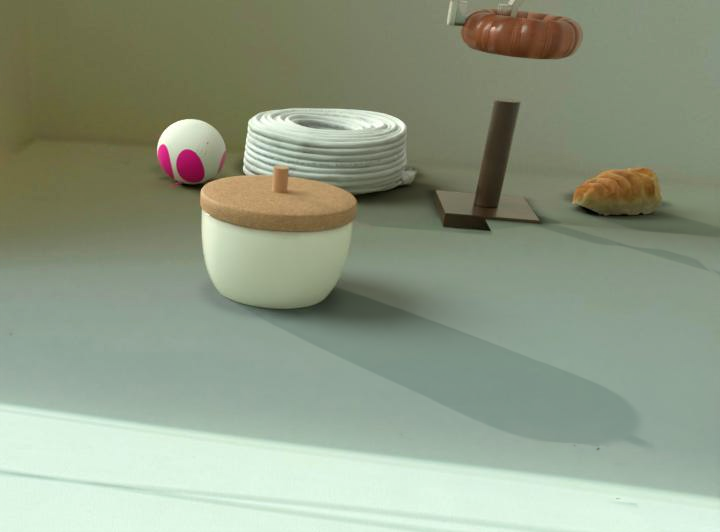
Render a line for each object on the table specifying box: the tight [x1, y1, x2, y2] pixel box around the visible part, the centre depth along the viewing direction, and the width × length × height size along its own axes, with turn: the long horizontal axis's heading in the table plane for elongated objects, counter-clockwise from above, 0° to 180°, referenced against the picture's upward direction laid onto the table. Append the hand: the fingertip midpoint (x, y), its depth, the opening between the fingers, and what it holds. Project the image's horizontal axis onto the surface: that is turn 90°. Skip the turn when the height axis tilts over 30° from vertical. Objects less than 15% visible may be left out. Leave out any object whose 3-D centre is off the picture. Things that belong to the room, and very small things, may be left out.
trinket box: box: [199, 166, 358, 310], centre depth 64 cm, size 11×11×9 cm
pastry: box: [571, 166, 663, 216], centre depth 96 cm, size 9×7×4 cm
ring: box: [460, 8, 584, 60], centre depth 82 cm, size 10×10×3 cm
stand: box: [433, 97, 541, 231], centre depth 88 cm, size 9×9×10 cm
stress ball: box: [156, 118, 227, 188], centre depth 94 cm, size 8×8×7 cm
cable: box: [242, 107, 418, 196], centre depth 97 cm, size 18×18×6 cm
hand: (479, 27), depth 81 cm, fingers closed on ring, 3 cm apart
